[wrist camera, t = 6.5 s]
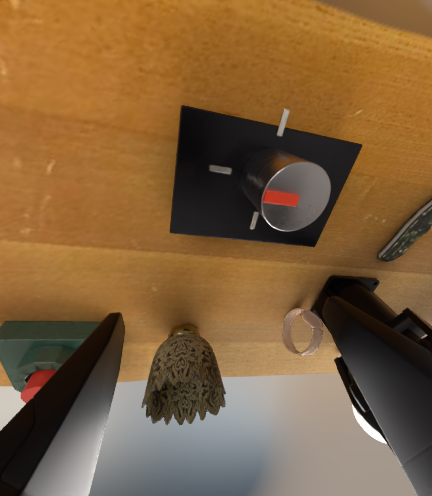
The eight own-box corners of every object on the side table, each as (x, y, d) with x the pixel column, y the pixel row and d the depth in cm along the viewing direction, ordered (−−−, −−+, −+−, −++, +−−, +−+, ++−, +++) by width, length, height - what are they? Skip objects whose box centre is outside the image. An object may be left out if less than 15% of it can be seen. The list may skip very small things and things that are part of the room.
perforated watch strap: (310, 304, 27) (334, 339, 23) (288, 329, 29) (306, 366, 25) (292, 299, 26) (314, 335, 22) (271, 325, 28) (287, 363, 24)
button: (70, 366, 22) (62, 386, 20) (75, 387, 23) (68, 405, 22) (27, 368, 21) (15, 387, 19) (35, 388, 23) (25, 408, 21)
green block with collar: (114, 322, 24) (103, 356, 21) (116, 365, 28) (108, 400, 25) (5, 320, 22) (-27, 358, 19) (24, 367, 26) (2, 406, 23)
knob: (300, 152, 14) (347, 169, 10) (282, 205, 16) (316, 237, 12) (247, 142, 14) (276, 157, 10) (235, 199, 15) (254, 230, 11)
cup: (147, 312, 24) (135, 391, 17) (215, 306, 25) (228, 379, 18) (155, 354, 28) (147, 431, 21) (213, 347, 29) (224, 420, 22)
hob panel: (342, 126, 17) (372, 129, 14) (298, 231, 21) (316, 248, 19) (182, 89, 14) (183, 84, 12) (170, 216, 19) (169, 234, 16)
